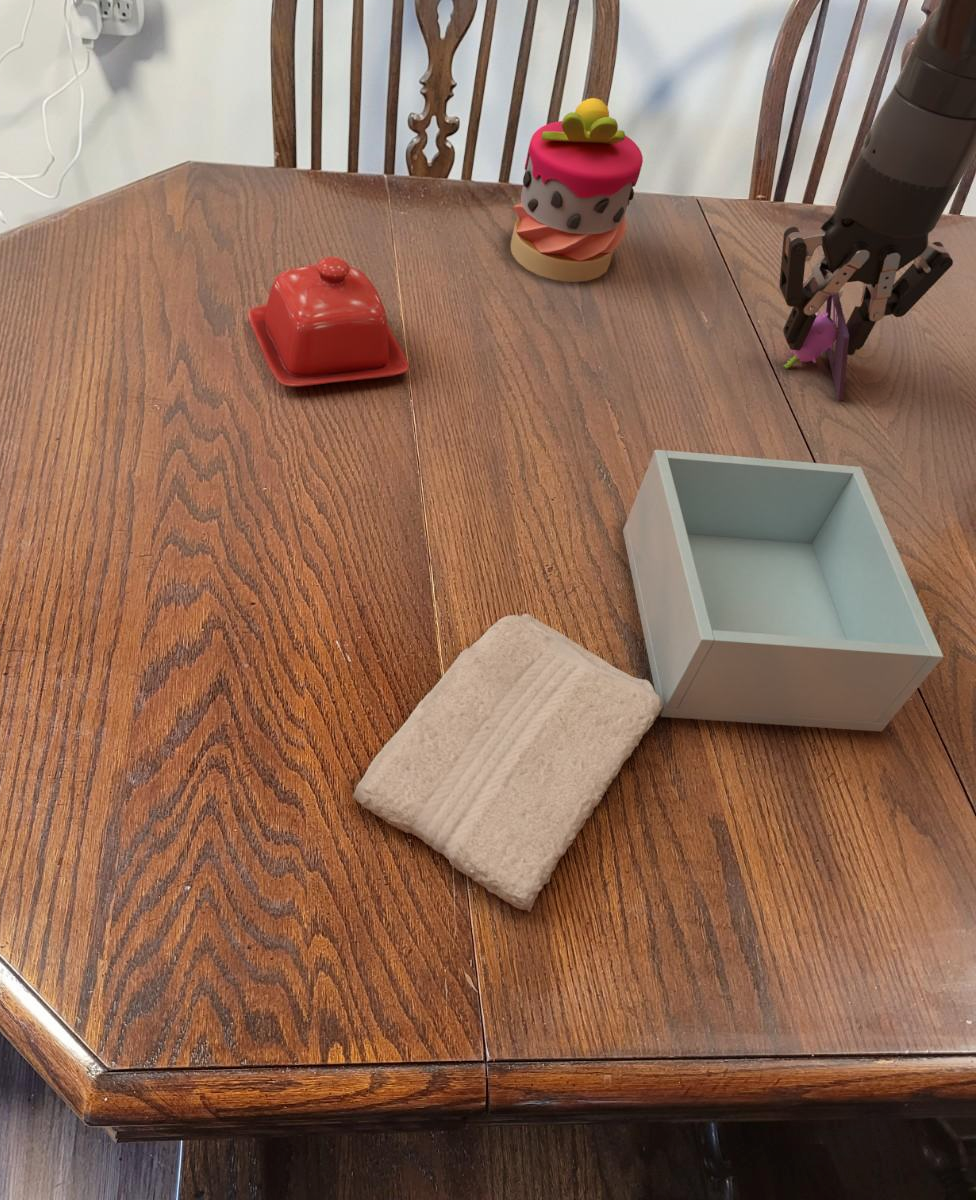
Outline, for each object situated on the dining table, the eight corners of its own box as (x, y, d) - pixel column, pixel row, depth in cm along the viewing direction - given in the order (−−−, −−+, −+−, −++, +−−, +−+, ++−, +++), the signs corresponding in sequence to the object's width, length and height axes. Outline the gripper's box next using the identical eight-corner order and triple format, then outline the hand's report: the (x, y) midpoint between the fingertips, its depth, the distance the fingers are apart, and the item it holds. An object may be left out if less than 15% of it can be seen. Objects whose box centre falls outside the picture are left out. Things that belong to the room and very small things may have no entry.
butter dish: (369, 305, 93) (379, 217, 86) (412, 385, 86) (426, 295, 80) (243, 319, 90) (243, 228, 83) (277, 403, 83) (280, 310, 76)
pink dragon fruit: (859, 334, 85) (842, 275, 91) (791, 342, 87) (778, 284, 93) (852, 401, 90) (836, 340, 96) (787, 407, 91) (776, 347, 97)
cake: (497, 224, 104) (528, 69, 93) (598, 227, 106) (641, 75, 95) (517, 283, 98) (554, 124, 86) (625, 286, 99) (675, 130, 88)
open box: (813, 546, 78) (861, 466, 72) (881, 732, 67) (944, 656, 61) (622, 531, 77) (654, 448, 71) (659, 717, 66) (701, 639, 60)
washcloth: (662, 712, 66) (677, 683, 64) (526, 929, 56) (538, 904, 54) (502, 620, 70) (511, 590, 68) (347, 808, 60) (351, 780, 57)
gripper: (835, 173, 76) (749, 366, 89) (1022, 192, 77) (910, 381, 90) (808, 125, 81) (730, 315, 94) (985, 144, 82) (883, 329, 95)
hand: (818, 346), depth 92 cm, fingers closed on pink dragon fruit, 4 cm apart
